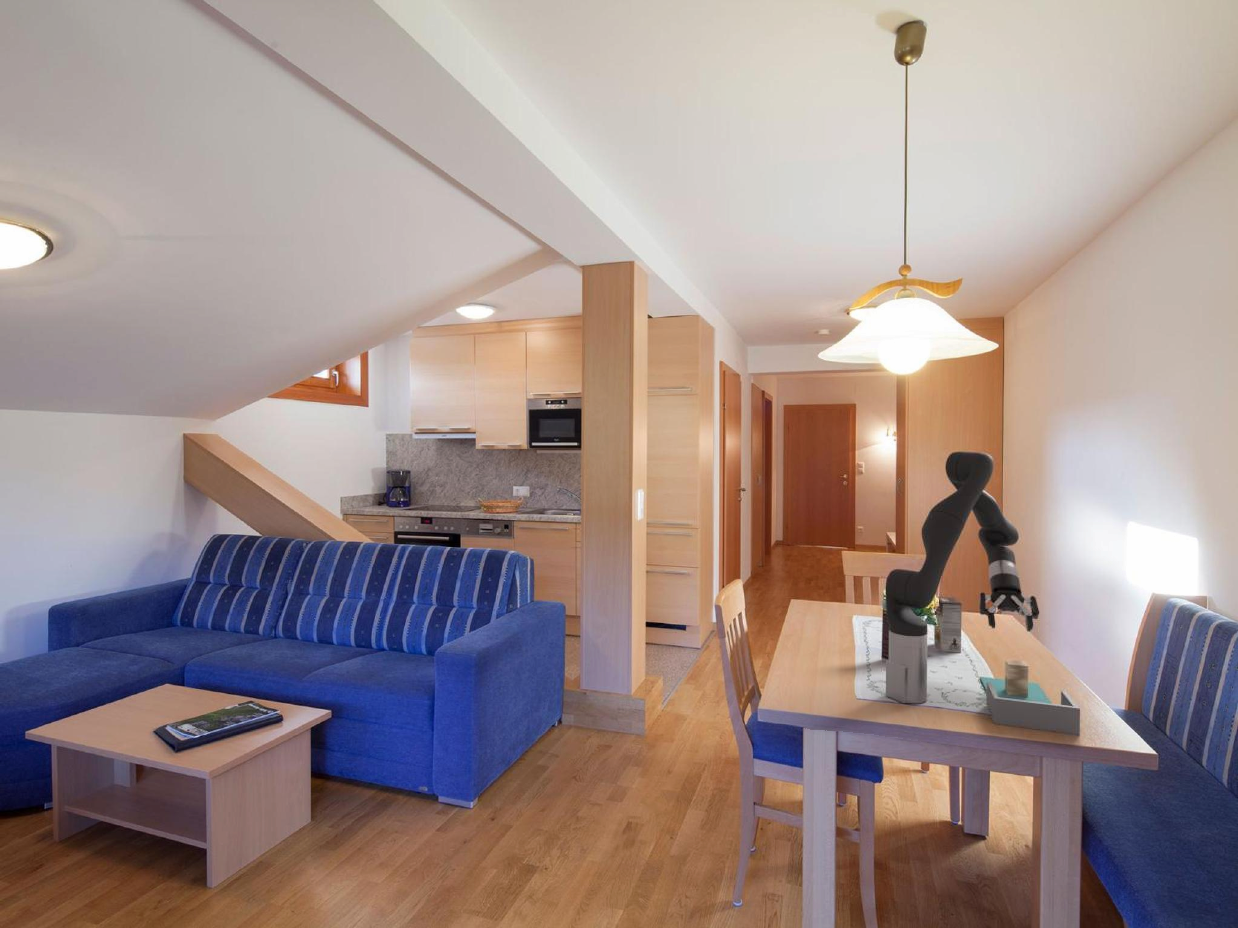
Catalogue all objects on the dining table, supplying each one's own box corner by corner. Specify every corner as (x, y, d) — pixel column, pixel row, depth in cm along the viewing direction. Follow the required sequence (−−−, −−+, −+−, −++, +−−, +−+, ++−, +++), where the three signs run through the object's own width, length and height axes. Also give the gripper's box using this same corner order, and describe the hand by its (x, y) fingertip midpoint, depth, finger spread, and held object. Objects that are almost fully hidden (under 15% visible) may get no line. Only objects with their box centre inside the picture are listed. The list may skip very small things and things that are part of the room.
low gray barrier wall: (994, 723, 155) (994, 698, 155) (986, 705, 166) (986, 682, 166) (1079, 734, 149) (1080, 708, 149) (1065, 715, 160) (1065, 690, 160)
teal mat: (990, 700, 170) (990, 698, 170) (980, 678, 187) (980, 676, 187) (1053, 708, 165) (1053, 705, 165) (1037, 685, 182) (1037, 682, 182)
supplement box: (891, 664, 199) (891, 612, 199) (880, 659, 204) (881, 608, 204) (915, 662, 201) (915, 610, 201) (904, 657, 206) (904, 607, 206)
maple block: (1008, 694, 173) (1008, 664, 173) (1005, 688, 177) (1005, 659, 177) (1028, 696, 171) (1028, 666, 171) (1024, 691, 175) (1024, 661, 175)
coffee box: (933, 643, 222) (933, 596, 222) (953, 644, 221) (954, 597, 220) (940, 651, 213) (941, 602, 213) (962, 652, 212) (962, 603, 211)
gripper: (978, 570, 192) (983, 618, 181) (1034, 573, 187) (1043, 623, 176) (975, 585, 197) (980, 632, 186) (1030, 588, 192) (1039, 638, 181)
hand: (1011, 628), depth 181 cm, fingers open, 8 cm apart
